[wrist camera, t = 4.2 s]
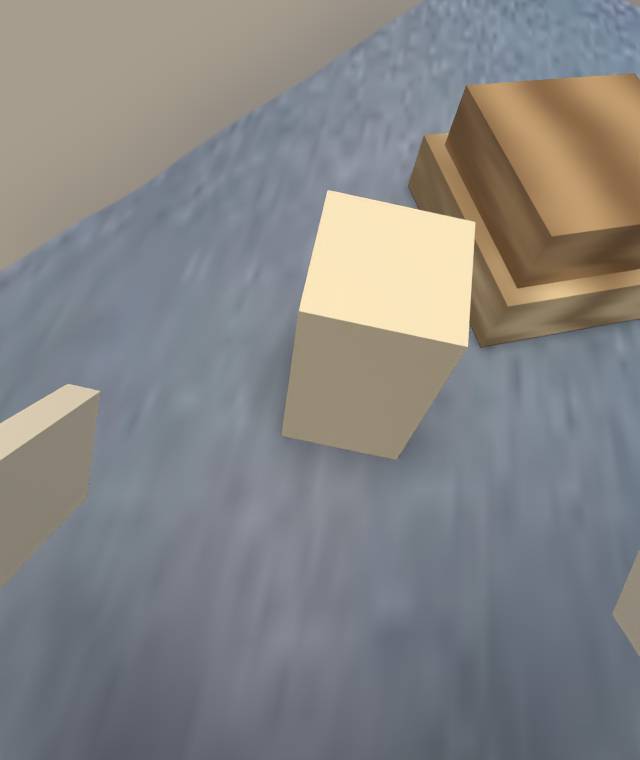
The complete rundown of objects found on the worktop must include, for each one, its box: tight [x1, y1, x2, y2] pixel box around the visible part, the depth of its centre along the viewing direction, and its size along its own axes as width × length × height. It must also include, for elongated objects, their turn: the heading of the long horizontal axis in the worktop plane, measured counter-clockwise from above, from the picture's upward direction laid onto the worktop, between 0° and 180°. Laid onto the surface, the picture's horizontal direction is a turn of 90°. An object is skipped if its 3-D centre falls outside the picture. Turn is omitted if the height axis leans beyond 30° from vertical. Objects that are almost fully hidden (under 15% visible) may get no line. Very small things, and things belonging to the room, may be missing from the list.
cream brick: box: [281, 190, 475, 460], centre depth 27 cm, size 6×6×11 cm
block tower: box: [408, 73, 640, 347], centre depth 35 cm, size 13×13×8 cm
